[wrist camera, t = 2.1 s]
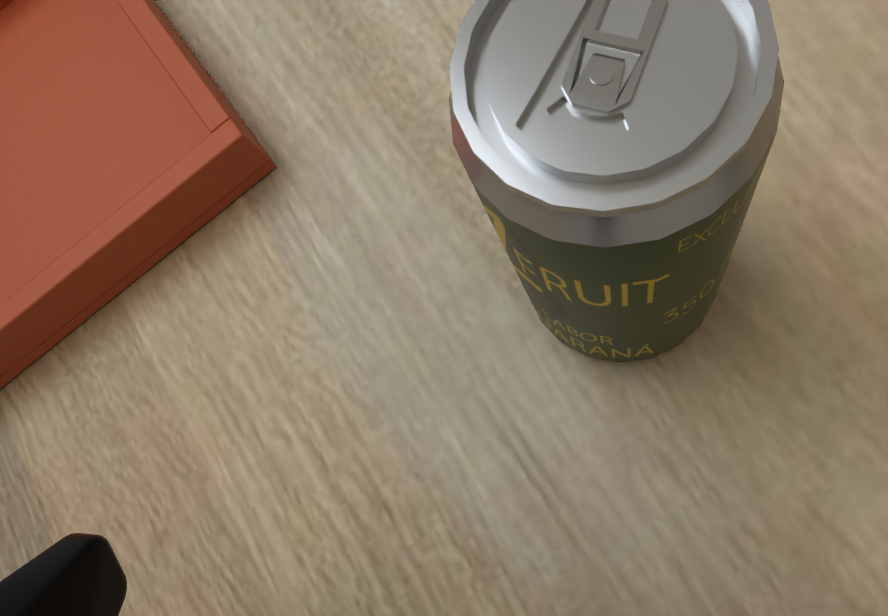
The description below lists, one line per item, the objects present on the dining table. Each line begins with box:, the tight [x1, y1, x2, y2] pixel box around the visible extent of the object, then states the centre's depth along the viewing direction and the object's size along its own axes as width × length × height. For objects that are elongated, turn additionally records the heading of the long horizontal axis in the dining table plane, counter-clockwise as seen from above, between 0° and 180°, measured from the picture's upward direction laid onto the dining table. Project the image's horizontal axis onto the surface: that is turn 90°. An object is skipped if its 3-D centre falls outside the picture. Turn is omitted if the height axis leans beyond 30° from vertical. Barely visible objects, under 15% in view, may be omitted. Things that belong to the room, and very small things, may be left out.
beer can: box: [449, 0, 784, 362], centre depth 18 cm, size 5×5×12 cm
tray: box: [0, 0, 276, 389], centre depth 28 cm, size 14×14×2 cm
